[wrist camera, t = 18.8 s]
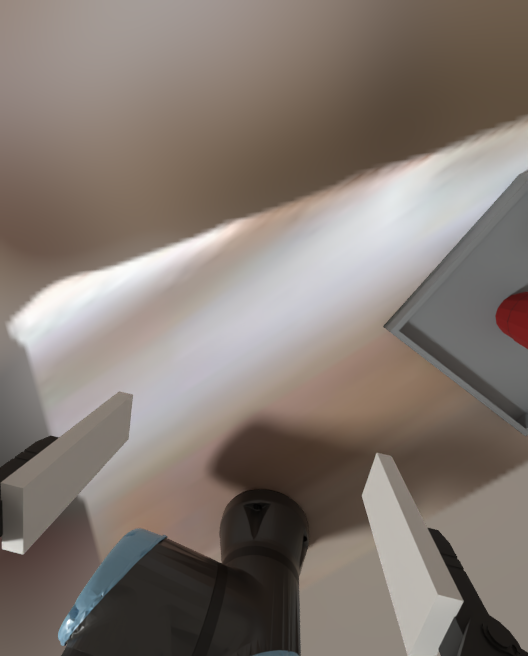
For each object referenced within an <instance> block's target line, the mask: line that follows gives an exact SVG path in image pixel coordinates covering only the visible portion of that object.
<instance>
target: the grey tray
mask: <svg viewBox="0 0 528 656" xmlns="http://www.w3.org/2000/svg"><path fill="white" fill-rule="evenodd" d="M522 292H528V172H525V173H522V174H519V176H518V177H517V178H516V179H515V180H514V181H513V182H512V183H511V185H510V186H509V187H508V188H507V189H506V190H505V191H504V192H503V193H502V195H501V196H500V197H499V198H498V199H497V200H496V201H495V202H494V203H493V205H492V206H491V207H490V208H489V209H488V210H487V211H486V212H485V214H484V215H483V216H482V217H481V218H480V219H479V220H478V221H477V222H476V224H475V225H474V226H473V227H472V228H471V229H470V230H469V231H468V232H467V234H466V235H465V236H464V237H463V238H462V239H461V240H460V241H459V243H458V244H457V245H456V246H455V247H454V248H453V249H452V250H451V251H450V253H449V254H448V255H447V256H446V257H445V258H444V259H443V260H442V262H441V263H440V264H439V265H438V266H437V267H436V268H435V269H434V270H433V272H432V273H431V274H430V275H429V276H428V277H427V278H426V279H425V280H424V282H423V283H422V284H421V285H420V286H419V287H418V288H417V289H416V291H415V292H414V293H413V294H412V295H411V296H410V297H409V298H408V299H407V301H406V302H405V303H404V304H403V305H402V306H401V307H400V308H399V309H398V311H397V312H396V313H395V314H394V315H393V316H392V317H391V318H390V320H389V321H388V322H387V323H386V324H385V325H384V326H383V327H384V328H386V329H387V330H388V331H389V332H391V333H392V334H393V335H395V336H396V337H397V338H399V339H400V340H401V341H402V342H404V343H405V344H406V345H408V346H409V347H410V348H412V349H413V350H414V351H415V352H417V353H418V354H419V355H421V356H422V357H423V358H425V359H426V360H427V361H428V362H430V363H431V364H432V365H434V366H435V367H436V368H437V369H439V370H440V371H441V372H443V373H444V374H445V375H447V376H448V377H449V378H450V379H452V380H453V381H454V382H456V383H457V384H458V385H460V386H461V387H462V388H463V389H465V390H466V391H467V392H469V393H470V394H471V395H473V396H474V397H475V398H476V399H478V400H479V401H480V402H482V403H483V404H484V405H486V406H487V407H488V408H489V409H491V410H492V411H493V412H495V413H496V414H497V415H499V416H500V417H501V418H502V419H504V420H505V421H506V422H508V423H509V424H510V425H512V426H513V427H514V428H515V429H517V430H518V431H519V432H521V433H522V434H523V435H525V436H527V435H528V349H526V348H525V347H523V346H522V345H520V344H519V343H517V342H515V341H514V340H513V339H512V338H511V337H509V336H508V335H506V334H504V333H503V332H502V331H501V330H500V328H499V327H498V325H497V324H496V317H495V315H496V312H497V309H498V307H499V306H500V304H501V303H502V302H503V300H505V299H506V298H508V297H510V296H511V295H514V294H518V293H522Z"/></svg>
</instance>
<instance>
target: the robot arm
mask: <svg viewBox="0 0 528 656" xmlns="http://www.w3.org/2000/svg"><path fill="white" fill-rule="evenodd" d="M132 399H133V395H132V394H128V393H123V392H118V393H117V394H115V395H114V396H113V397H111V398H110V399H109V400H108V401H106V402H105V403H104V404H102V405H101V406H100V407H98V408H97V409H96V410H95V411H93V412H92V413H91V414H89V415H88V416H87V417H85V418H84V419H83V420H82V421H80V422H79V423H78V424H76V425H75V426H74V427H72V428H71V429H70V430H68V431H67V432H66V433H65V434H63V435H62V436H61V437H59V438H58V437H54V436H49V437H46V438H44V439H42V440H39V441H37V442H35V443H34V444H32V445H31V446H30V447H28V448H27V449H25V451H24V452H21V453H20V454H18V455H17V456H16V457H15V458H14V459H11V460H10V461H9V462H7V463H6V464H4V465H3V466H2V467H0V537H1V536H2V549H4V550H8V551H12V552H15V553H20V554H24V553H25V552H26V551H27V550H28V549H29V548H30V547H31V545H32V544H33V543H34V542H35V541H36V540H37V539H38V538H39V537H40V536H41V534H42V533H43V532H44V531H45V530H46V529H47V528H48V527H49V526H50V525H51V524H52V522H53V521H54V520H55V519H56V518H57V517H58V516H59V515H60V514H61V513H62V511H63V510H64V509H65V508H66V507H67V506H68V505H69V504H70V503H71V502H72V500H73V499H74V498H75V497H76V496H77V495H78V494H79V493H80V492H81V491H82V489H83V488H84V487H85V486H86V485H87V484H88V483H89V482H90V481H91V480H92V478H93V477H94V476H95V475H96V474H97V473H98V472H99V471H100V470H101V469H102V467H103V466H104V465H105V464H106V463H107V462H108V461H109V460H110V459H111V458H112V457H113V455H114V454H115V453H116V452H117V451H118V450H119V449H120V448H121V447H122V446H123V444H124V443H125V442H126V441H127V440H128V438H129V428H130V419H131V409H132ZM362 498H363V502H364V505H365V509H366V512H367V516H368V519H369V523H370V526H371V530H372V533H373V537H374V540H375V544H376V547H377V551H378V554H379V557H380V561H381V564H382V567H383V571H384V575H385V578H386V582H387V585H388V588H389V592H390V596H391V599H392V603H393V606H394V610H395V613H396V617H397V620H398V623H399V627H400V630H401V634H402V637H403V641H404V644H405V648H406V651H407V655H408V656H436V655H437V653H438V651H439V652H440V655H441V656H528V653H527V652H526V651H524V650H523V649H521V647H520V645H519V643H518V642H517V641H516V639H515V638H514V637H513V635H512V634H511V633H510V631H509V630H507V629H506V628H505V627H504V626H503V625H502V624H501V623H500V622H499V621H497V620H496V619H494V618H493V617H491V616H490V615H489V614H488V612H487V610H486V609H485V607H484V605H483V603H482V601H481V600H480V598H479V596H478V594H477V592H476V590H475V589H474V587H473V585H472V583H471V581H470V579H469V578H468V576H467V574H466V572H465V571H464V570H463V567H462V565H461V563H460V561H459V560H458V559H457V556H456V554H455V553H454V551H453V548H452V547H451V545H450V543H449V542H448V541H447V540H446V539H445V537H444V536H443V535H442V534H441V533H440V532H439V531H438V530H435V529H431V528H427V526H426V524H425V522H424V520H423V518H422V516H421V514H420V512H419V510H418V508H417V506H416V504H415V502H414V500H413V498H412V496H411V494H410V492H409V490H408V488H407V486H406V484H405V482H404V480H403V478H402V476H401V474H400V472H399V470H398V468H397V466H396V464H395V462H394V460H393V458H392V456H390V455H385V454H381V453H376V456H375V459H374V462H373V465H372V468H371V471H370V474H369V476H368V479H367V482H366V485H365V488H364V491H363V494H362ZM308 544H309V530H308V522H307V518H306V516H305V514H304V512H303V511H302V509H301V508H300V507H299V506H298V505H297V504H296V503H295V502H294V501H293V500H292V499H290V498H289V497H287V496H285V495H283V494H281V493H278V492H274V491H270V490H252V491H248V492H245V493H242V494H240V495H238V496H236V497H235V498H234V499H233V500H231V501H230V502H229V504H228V505H227V506H226V508H225V510H224V513H223V516H222V520H221V524H220V546H221V561H222V563H219V562H217V561H215V560H213V559H211V558H209V557H207V556H204V555H202V554H200V553H198V552H196V551H194V550H191V549H189V548H187V547H185V546H183V545H180V544H178V543H176V542H174V541H172V540H170V539H167V536H166V535H162V536H161V535H158V534H155V533H153V532H150V531H148V530H145V529H141V528H139V529H134V530H132V531H130V532H129V533H127V534H126V535H125V536H124V537H123V538H122V539H121V540H120V541H119V542H118V543H117V544H116V545H115V547H114V548H113V549H112V550H111V552H110V553H109V554H108V555H107V557H106V558H105V559H104V561H103V562H102V563H101V565H100V566H99V568H98V569H97V570H96V572H95V573H94V575H93V576H92V577H91V579H90V580H89V582H88V583H87V585H86V586H85V588H84V589H83V591H82V592H81V594H80V595H79V597H78V599H77V600H76V603H75V604H74V606H73V607H72V609H71V611H70V612H69V613H68V615H67V616H66V618H65V620H64V622H63V623H62V625H61V628H60V630H59V633H58V639H59V640H60V642H61V645H63V646H65V645H66V644H67V646H66V648H65V650H64V652H63V654H62V655H61V656H301V646H300V603H299V575H300V572H301V569H302V565H303V562H304V559H305V556H306V552H307V549H308Z"/></svg>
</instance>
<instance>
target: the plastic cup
mask: <svg viewBox="0 0 528 656" xmlns="http://www.w3.org/2000/svg"><path fill="white" fill-rule="evenodd" d="M495 317H496V324H497V325H498V327H499V328H500V330H501V331H502V332H503V333H504V334H506V335H508V336H509V337H511V338H512V339H513V340H514V341H515V342H517V343H519V344H520V345H522V346H523V347H525V348H526V349H528V292H522V293H518V294H514V295H511V296H510V297H508V298H506V299H505V300H503V302H502V303H501V304H500V306H499V307H498V309H497V312H496V315H495Z"/></svg>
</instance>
